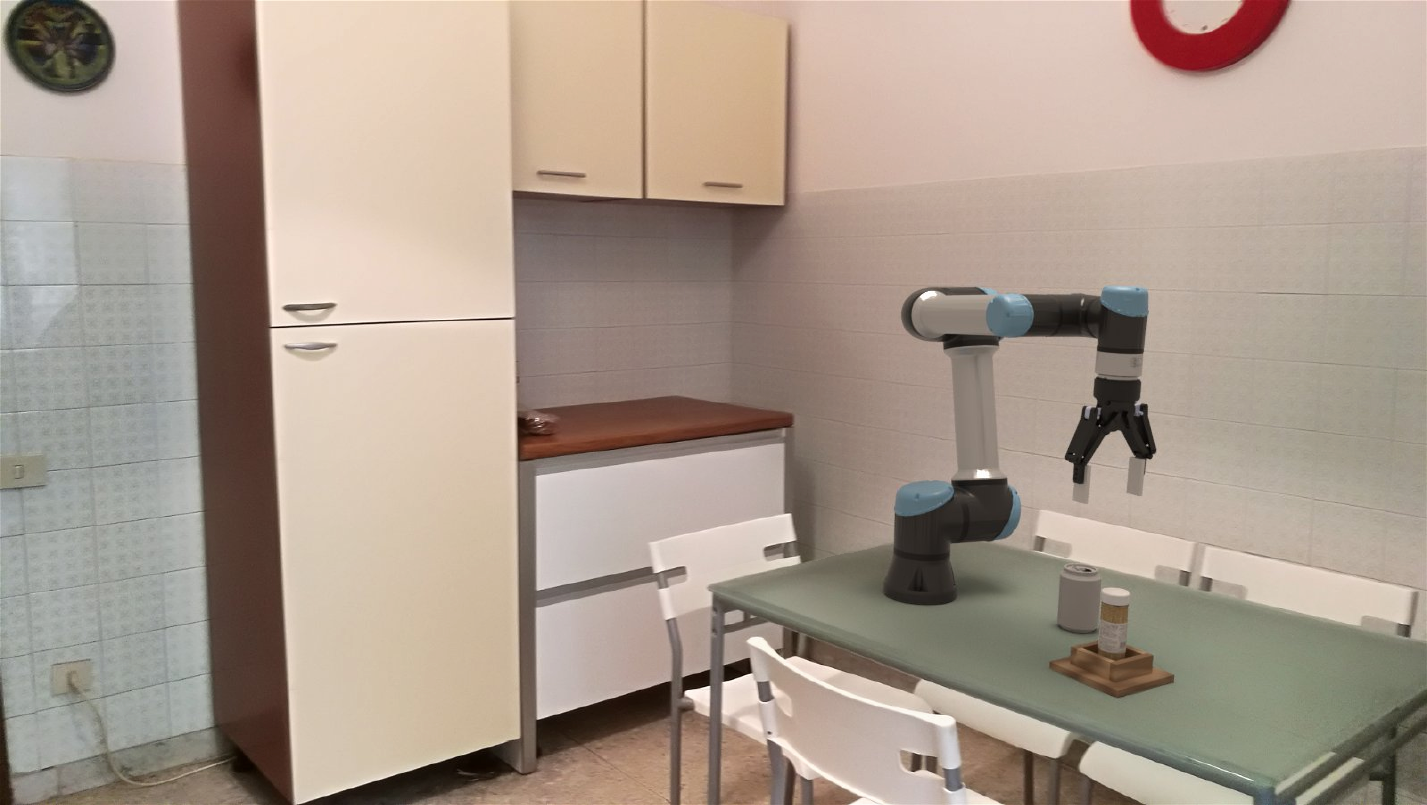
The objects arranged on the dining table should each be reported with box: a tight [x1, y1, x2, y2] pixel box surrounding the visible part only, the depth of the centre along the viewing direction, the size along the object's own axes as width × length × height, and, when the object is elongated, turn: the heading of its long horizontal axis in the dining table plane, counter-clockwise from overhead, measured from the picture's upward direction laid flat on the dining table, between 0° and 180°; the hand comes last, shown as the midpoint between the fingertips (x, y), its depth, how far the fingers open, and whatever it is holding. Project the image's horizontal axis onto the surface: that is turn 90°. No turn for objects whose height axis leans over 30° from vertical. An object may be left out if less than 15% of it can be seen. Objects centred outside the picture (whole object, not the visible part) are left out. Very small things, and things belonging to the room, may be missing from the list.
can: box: [1056, 562, 1102, 634], centre depth 197 cm, size 8×8×12 cm
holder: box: [1048, 640, 1175, 699], centre depth 174 cm, size 14×14×4 cm
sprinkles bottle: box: [1098, 587, 1131, 661], centre depth 173 cm, size 5×5×13 cm
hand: (1107, 498), depth 180 cm, fingers open, 13 cm apart
